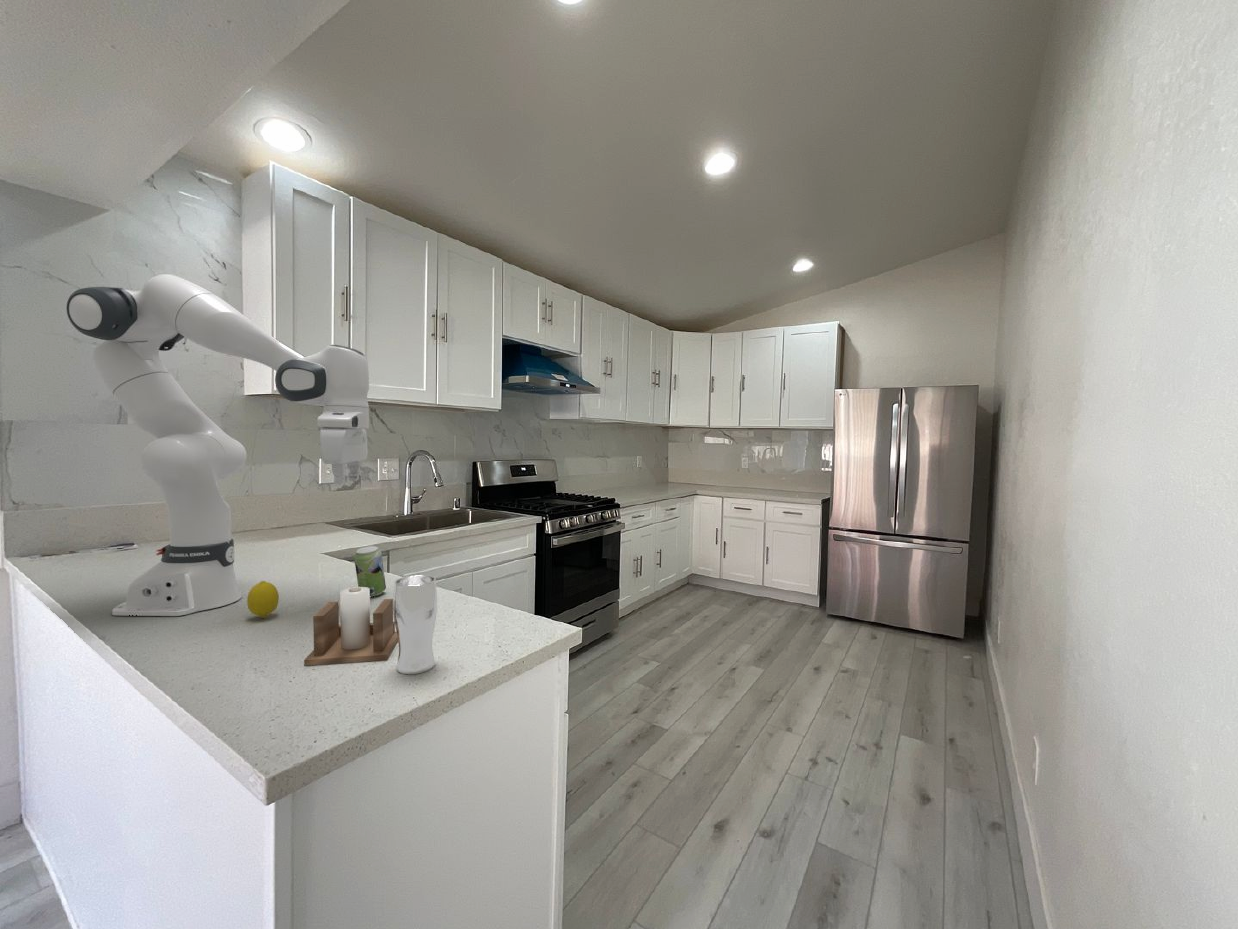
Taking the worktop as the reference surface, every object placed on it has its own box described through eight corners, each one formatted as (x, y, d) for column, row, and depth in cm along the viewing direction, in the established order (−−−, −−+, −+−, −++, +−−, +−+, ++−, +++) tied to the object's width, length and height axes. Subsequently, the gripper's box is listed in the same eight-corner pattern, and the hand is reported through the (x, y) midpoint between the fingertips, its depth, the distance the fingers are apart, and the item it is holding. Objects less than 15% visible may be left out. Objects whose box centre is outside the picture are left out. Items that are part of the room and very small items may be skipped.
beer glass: (402, 658, 91) (401, 574, 91) (442, 657, 92) (442, 574, 91) (387, 676, 84) (386, 586, 84) (430, 675, 85) (430, 585, 84)
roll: (337, 650, 92) (336, 593, 91) (345, 640, 96) (344, 586, 96) (366, 648, 93) (365, 592, 92) (373, 638, 97) (372, 585, 97)
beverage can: (390, 591, 130) (390, 544, 129) (374, 600, 123) (373, 550, 122) (367, 590, 131) (366, 543, 130) (349, 599, 123) (348, 550, 123)
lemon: (246, 617, 111) (245, 580, 110) (277, 611, 114) (276, 576, 114) (249, 624, 106) (248, 586, 106) (280, 618, 110) (280, 581, 110)
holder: (304, 665, 88) (303, 619, 87) (327, 640, 99) (326, 599, 98) (387, 660, 91) (386, 615, 90) (400, 636, 101) (400, 596, 101)
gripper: (346, 421, 124) (346, 478, 124) (313, 418, 104) (314, 486, 104) (374, 421, 125) (374, 478, 125) (348, 419, 105) (348, 487, 105)
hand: (347, 482), depth 115 cm, fingers open, 8 cm apart
